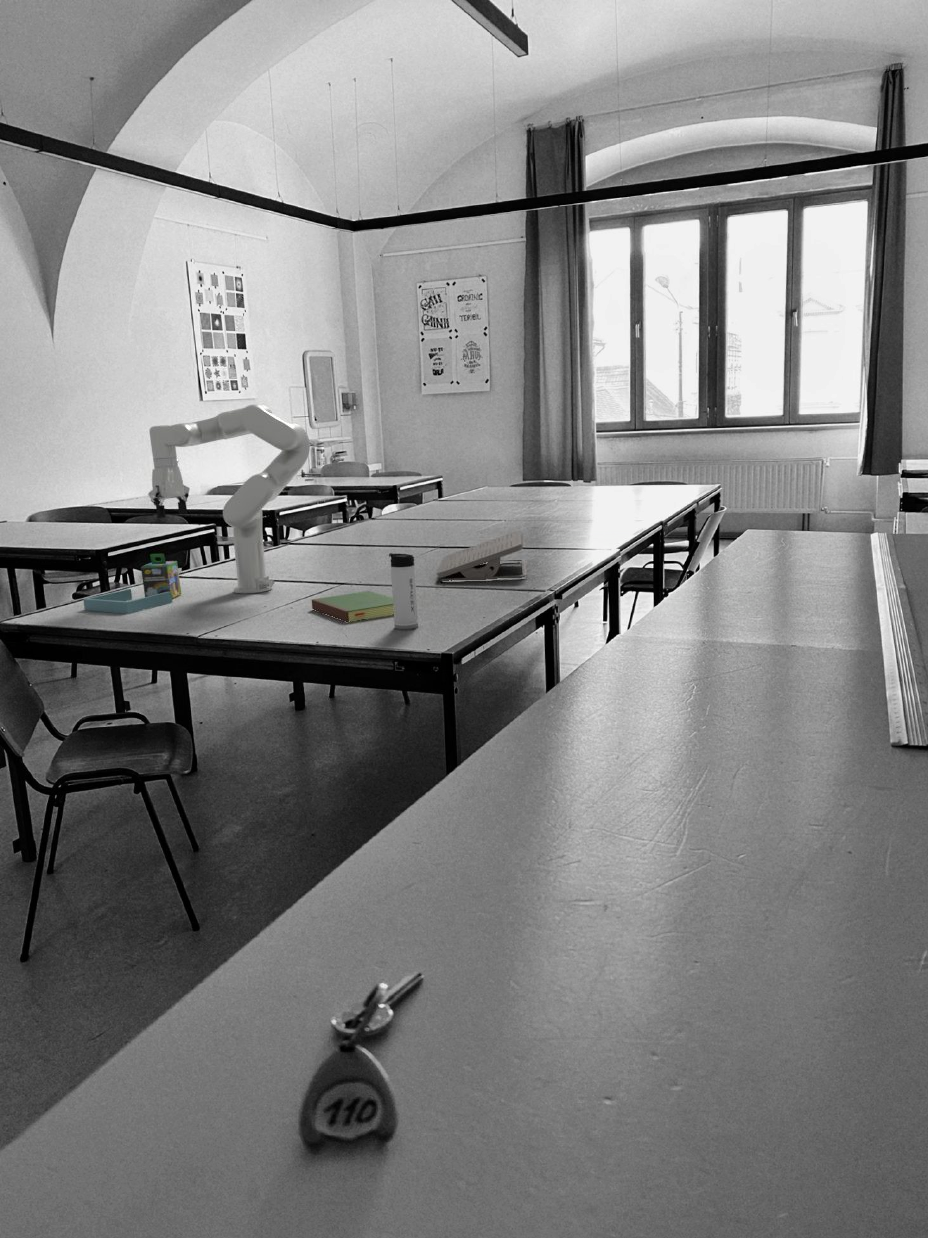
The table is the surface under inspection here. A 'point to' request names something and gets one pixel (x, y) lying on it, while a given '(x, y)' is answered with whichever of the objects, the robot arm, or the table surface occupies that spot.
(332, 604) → the hardcover book
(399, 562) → the travel mug
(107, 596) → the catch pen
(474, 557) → the foot rest
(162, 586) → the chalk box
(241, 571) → the robot arm
